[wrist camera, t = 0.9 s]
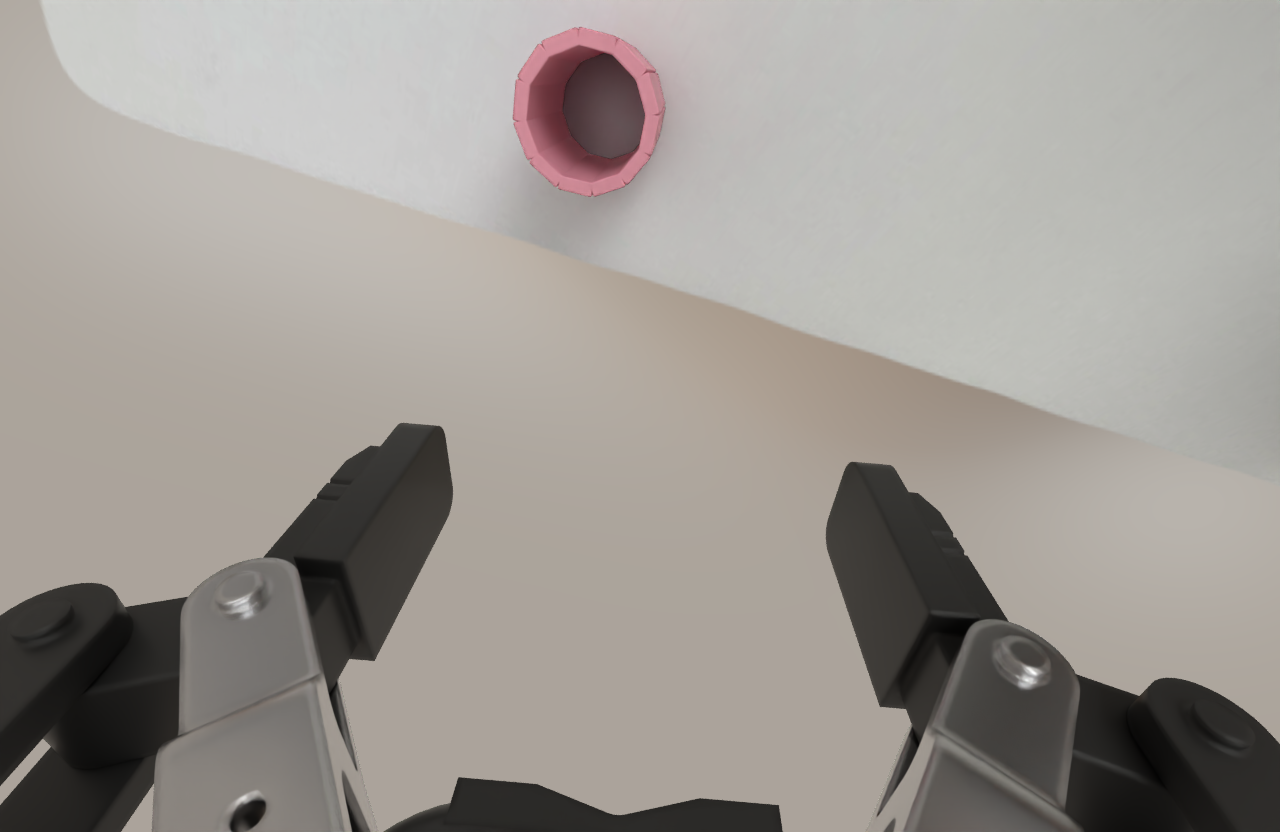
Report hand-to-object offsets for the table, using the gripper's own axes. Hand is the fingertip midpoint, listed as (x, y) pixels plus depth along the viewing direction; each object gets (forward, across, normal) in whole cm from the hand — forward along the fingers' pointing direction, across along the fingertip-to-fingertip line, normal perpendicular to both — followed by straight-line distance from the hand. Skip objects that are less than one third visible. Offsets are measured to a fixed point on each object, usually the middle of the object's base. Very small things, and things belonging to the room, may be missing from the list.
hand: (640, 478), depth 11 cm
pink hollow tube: (+25, +3, -5) cm, 26 cm away
